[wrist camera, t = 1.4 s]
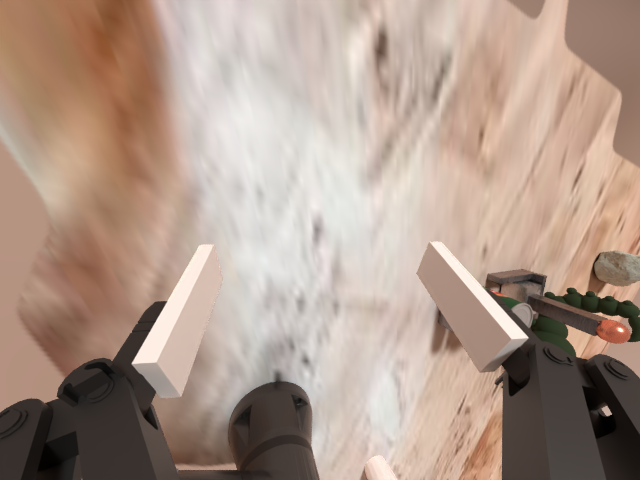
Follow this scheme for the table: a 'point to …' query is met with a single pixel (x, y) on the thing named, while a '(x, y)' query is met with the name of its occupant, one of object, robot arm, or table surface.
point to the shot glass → (378, 469)
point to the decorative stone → (618, 268)
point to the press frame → (507, 278)
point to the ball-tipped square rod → (566, 312)
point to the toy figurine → (558, 331)
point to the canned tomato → (518, 308)
